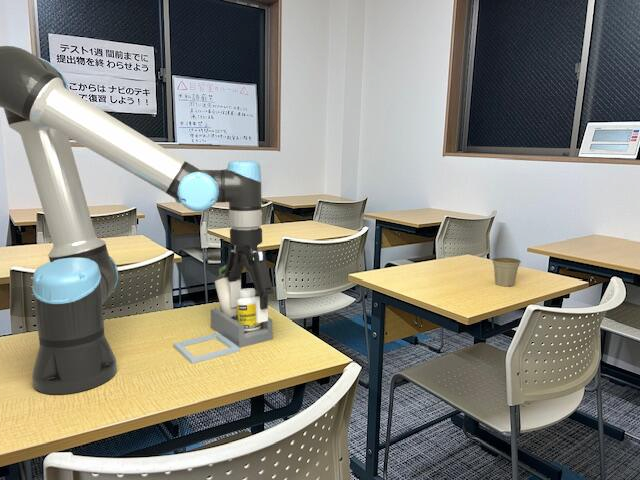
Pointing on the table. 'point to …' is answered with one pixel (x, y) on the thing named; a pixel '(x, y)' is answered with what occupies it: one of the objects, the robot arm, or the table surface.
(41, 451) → the table surface
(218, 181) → the robot arm
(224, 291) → the white thermos bottle
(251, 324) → the supplement bottle
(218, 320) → the grey cubby shelf
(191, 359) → the grey square frame
